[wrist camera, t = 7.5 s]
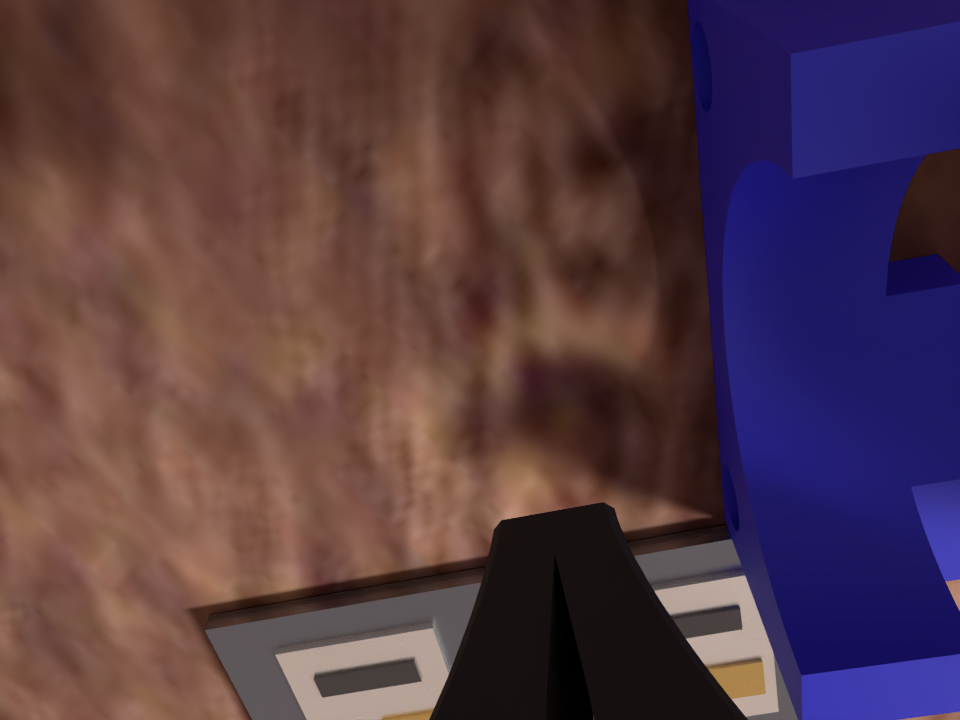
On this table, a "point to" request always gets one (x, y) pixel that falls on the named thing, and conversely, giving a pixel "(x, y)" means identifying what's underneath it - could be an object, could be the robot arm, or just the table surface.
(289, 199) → the table surface
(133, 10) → the table surface
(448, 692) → the robot arm
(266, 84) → the table surface
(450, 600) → the label board
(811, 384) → the cable clip
